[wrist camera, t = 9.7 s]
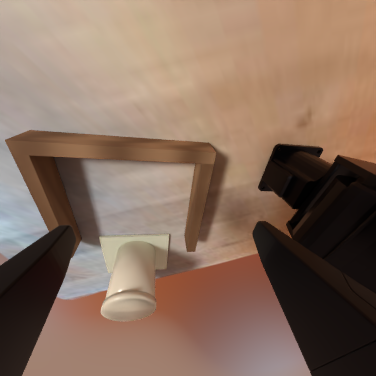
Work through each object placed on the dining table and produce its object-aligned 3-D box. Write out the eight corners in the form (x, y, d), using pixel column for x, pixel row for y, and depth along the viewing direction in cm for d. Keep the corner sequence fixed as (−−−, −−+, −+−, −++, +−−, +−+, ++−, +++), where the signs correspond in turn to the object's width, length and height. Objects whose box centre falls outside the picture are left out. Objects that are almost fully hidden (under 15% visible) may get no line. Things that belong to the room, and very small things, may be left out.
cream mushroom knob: (113, 240, 24) (96, 300, 18) (157, 239, 26) (156, 294, 19) (119, 274, 29) (108, 331, 23) (156, 271, 30) (155, 325, 24)
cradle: (208, 142, 19) (216, 152, 16) (191, 235, 27) (195, 251, 24) (29, 130, 15) (4, 140, 13) (72, 239, 24) (62, 258, 21)
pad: (169, 233, 26) (169, 235, 26) (166, 267, 31) (166, 268, 30) (99, 236, 24) (99, 237, 24) (108, 271, 29) (108, 272, 29)
